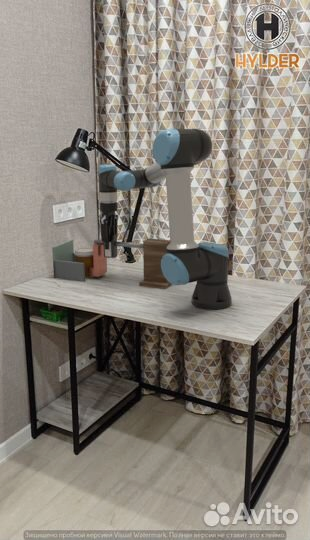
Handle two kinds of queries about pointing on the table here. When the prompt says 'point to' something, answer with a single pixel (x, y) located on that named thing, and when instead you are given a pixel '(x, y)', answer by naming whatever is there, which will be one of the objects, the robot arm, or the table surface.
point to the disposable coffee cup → (85, 258)
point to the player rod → (101, 259)
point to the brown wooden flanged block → (154, 263)
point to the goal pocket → (67, 263)
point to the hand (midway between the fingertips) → (110, 255)
